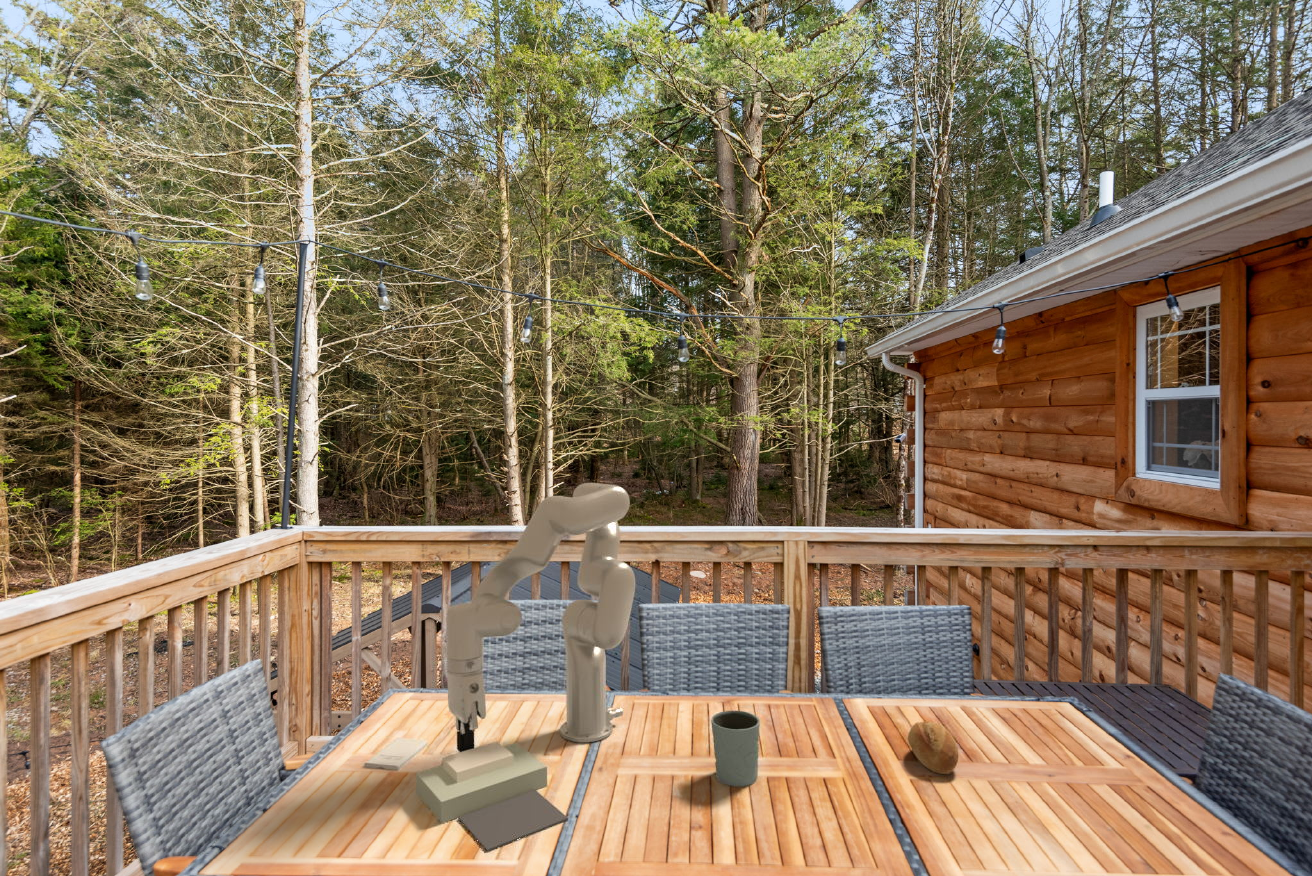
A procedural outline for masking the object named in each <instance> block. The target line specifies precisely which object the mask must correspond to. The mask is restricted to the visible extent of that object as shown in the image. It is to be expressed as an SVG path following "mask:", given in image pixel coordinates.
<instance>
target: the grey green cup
mask: <svg viewBox="0 0 1312 876" xmlns="http://www.w3.org/2000/svg"><path fill="white" fill-rule="evenodd" d="M710 721H711V722H710V723H711V733H712V736H713V737H712V741H713V750H714V752H713V753H714V757H715V761H714V763H715V764H714V765H715V772H716V773H715V775H716V778H717V780H718V781H719V782H720V783H722V784H724V785H726V786H729V787H733V788H734V787H737V788H740V787H748V786H752V785H753V784H755V783H756V781H757V780H758V774H759V772H758V771H759V769H758V768H759V752H760V751H759V749H760V747H759V741H760V740H759V739H760V738H759V736H760V725H761V724H760V722H761V721H760V719H759V717H758V716H757V715H755V714H753V713H751V712H748V711H743V710H724V711H721V712H718V713H715V714H714V715H713V716H712V717H711V720H710Z"/></svg>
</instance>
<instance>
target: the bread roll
mask: <svg viewBox="0 0 1312 876" xmlns="http://www.w3.org/2000/svg"><path fill="white" fill-rule="evenodd" d="M907 742H908V744H909V747H910V749H911V750H912V752H913V753H914V756H916V758H917V759H918V761H919V762H920V763H921V764H922V765H923V766H924V767H926V768H927V769H929V770H930V771H932V772H934V773H937V774H940V775H948V774H950V773H952V772H953V771H954V770H955V768H956V767H957V764H958V761H959V748H958V745H957V743H956V742H957V741H956V739H954V737H953V735H952V734H951V732H950V731H949V730H948V729H947V728H946V727H945V726H944V725H942V724H940V723H939V724H938V723H935V722H929V721H927V722H926V721H924V720H923V721H920V722H918V721H917V722H915V723H913V724H912V726H911V728H910V730H909V732H908V735H907Z"/></svg>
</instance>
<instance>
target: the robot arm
mask: <svg viewBox="0 0 1312 876" xmlns="http://www.w3.org/2000/svg"><path fill="white" fill-rule="evenodd" d="M572 493H573V494H572V497H571V496H562V495H551V496H547V497H546V498H544V499H543V500H542V501H540V503H539V504H538V506H537V508H536V509H535V511H534V513H533V515H532V516H531V518H530V520H529V522H528V523H527V525H526V527H525V528H524V530H523V532H522V534H521V535H520V537H519V539H518V541H517V542H516V544H515V546H514V547H513V548H512V550H511V551H509V552H508V553H507V554H506V555H505V556H503V558H501V559H500V561H499V562H497V563H496V564H495V565H494V566H493V567H492V568H491V569H490V570H489V571H488V572H487V573H486V575H485V576H484V577H483V579H482V580H481V582H480V584H479V585H478V587H477V589H476V590H475V592H474V594H473V596H472V599H471V600H470V602H464V603H463V602H462V603H457V604H453V605H451V606H449V607H448V608H447V611H446V614H445V615H446V617H445V618H446V619H445V626H446V627H445V628H446V630H445V632H446V633H445V634H446V637H445V638H446V674H447V675H448V684H447V685H448V686H447V700H448V701H447V704H448V705H447V707H448V709H449V712H450V713H451V714H452V715H453V716H455V727H456V750H458V753H460V752H463V751H466V750H470V749H473V748H475V731H476V729H478V728H479V720H478V718H480V719H482V720H483V719H485V718H486V717H487V707H486V703H487V702H486V690H485V681H484V675H483V672H482V671H483V670H484V638H490V637H491V638H492V637H493V638H495V637H505V636H506V637H507V636H509V635H511V634H513V633H514V632H516V631H517V630H518V629H519V627H520V626H521V625H522V624H521V623H522V621H523V615H522V611H521V609H520V608H519V606H517V604H515V603H514V602H512V601H510V600H507V599H506V597H507V596H508V594H510V591H511V590H513V588H514V586H516V585H517V584H518V583H519V582H520V581H522V580H523V579H525V578H527V577H530V576H531V575H535V574H537V573H539V572H540V571H543V570H544V569H546V568H547V566H548V564H549V562H550V561H551V559H552V557H553V556H554V554H555V552H556V550H557V548H558V547H559V544H561V541H562V539H563V537H564V536H565V535H567V536H580V535H583V534H585V540H584V546H583V549H582V550H583V551H582V555H581V558H580V564H579V568H578V572H577V581H576V582H577V586H578V588H579V589H580V590H581V591H582V592H583V593H585V594H587V595H590V596H593V597H595V598H598V601H597V602H595V601H593V600H588V599H577V600H574V601H573V602H571V603H569V604H568V605H567V606H566V608H565V609H564V612H563V613H562V617H561V626H562V633H563V640H564V645H565V646H564V647H565V660H566V661H565V668H566V669H565V675H566V677H565V679H566V680H565V682H566V685H565V689H566V702H565V703H566V721H565V722H563V723H562V724H561V725H560V727H559V728H560V729H559V733H560V735H561V737H562V738H564V739H565V740H567V741H569V742H570V741H571V742H575V743H592V742H598V741H601V740H604V739H606V738H607V737H609V736H610V735H611V734H612V733H613V728H614V727H613V724H612V722H611V721H612V720H613V719H615V718H619V717H623V715H624V712H623V709H622V708H621V707H618V708H615V709H613V707H611V706H609V707H607V686H606V685H607V682H606V679H607V675H606V674H607V673H606V672H607V670H606V667H607V659H606V651H605V650H612V649H615V648H616V647H618V646H619V645H620V644H621V643H622V641H623V640H624V637H625V636H626V633H627V629H628V626H629V620H630V616H631V611H632V607H633V602H634V598H635V594H636V593H635V590H636V576H635V573H634V571H633V569H632V567H631V566H630V565H629V564H628V563H626V562H624V561H622V560H619V559H618V557H619V549H620V543H621V530H620V526H619V523H618V521H620V520H621V519H623V518H624V517H625V516H626V514H627V513H628V511H629V508H630V504H631V502H630V496H629V494H628V492H627V491H626V489H624V488H623V487H621V486H620V485H617V484H609V483H607V484H606V483H600V482H599V483H597V482H585V483H580V484H579V485H577V486H576V488H575V489H574V490H573V492H572Z"/></svg>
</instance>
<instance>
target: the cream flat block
mask: <svg viewBox="0 0 1312 876" xmlns="http://www.w3.org/2000/svg"><path fill="white" fill-rule="evenodd" d="M503 746H504V745H502V744H501V743H500V742H498V741H494V742H490V743H487V744H484V745H481V746H477V747H474V748H473V749H470V750H466V751H463V752H457V753H454V754H453V753H452V754H450V755H446V756H443V757H442V759H441V765H442V768H443V769H444V770H445V771H446V772H447V773H448V774H449V775H450V776H451V777H452V778H453V779H454V780H455V781H456V782H457V783H458V782H462V781H465V780H468V779H471V778H474V777H477V776H480V775H483V774H486V773H489V772H492V771H496V770H499V769H502V768H505V767H508V766H511V765H514V755H513V754H512V753H511V752H509V751H508V750H507V749H506V748H504V747H503Z"/></svg>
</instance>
